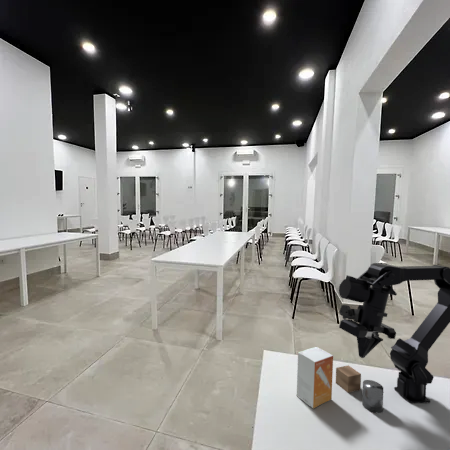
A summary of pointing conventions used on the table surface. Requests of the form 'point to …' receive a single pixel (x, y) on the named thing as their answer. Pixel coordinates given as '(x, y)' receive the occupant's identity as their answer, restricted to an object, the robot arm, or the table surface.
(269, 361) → the table surface
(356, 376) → the walnut block
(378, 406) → the charcoal metal cylinder
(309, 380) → the small box
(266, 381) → the table surface
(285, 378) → the table surface
